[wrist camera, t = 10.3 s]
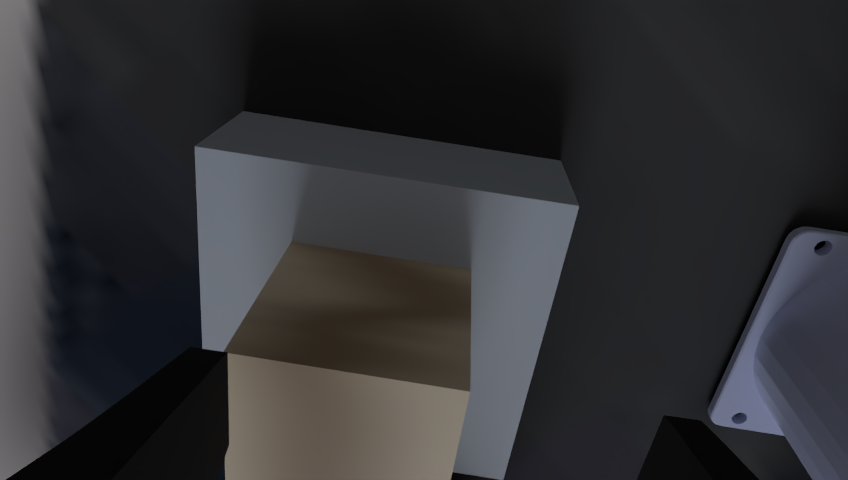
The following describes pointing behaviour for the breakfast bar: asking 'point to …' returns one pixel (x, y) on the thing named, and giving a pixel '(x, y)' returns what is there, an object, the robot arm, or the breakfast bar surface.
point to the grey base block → (392, 239)
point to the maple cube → (350, 370)
